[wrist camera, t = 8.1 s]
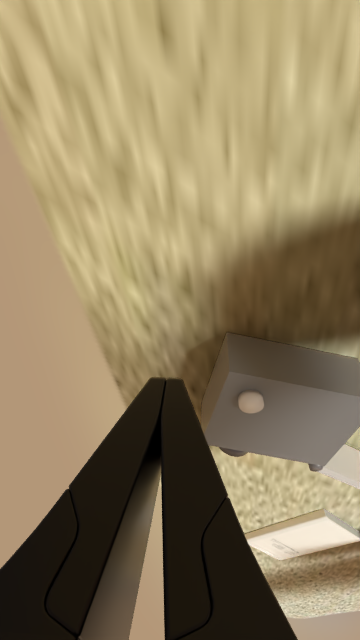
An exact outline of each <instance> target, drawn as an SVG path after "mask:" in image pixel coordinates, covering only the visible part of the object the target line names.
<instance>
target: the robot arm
mask: <svg viewBox="0 0 360 640" xmlns="http://www.w3.org/2000/svg"><path fill="white" fill-rule="evenodd" d="M160 475H161V484H162V529H163V577H164V624H165V640H298V639H297V637H296V636H295V634H294V632H293V630H292V628H291V626H290V624H289V622H288V620H287V618H286V616H285V614H284V612H283V611H282V609H281V607H280V605H279V603H278V601H277V599H276V597H275V595H274V593H273V592H272V590H271V588H270V586H269V584H268V582H267V580H266V578H265V576H264V574H263V572H262V570H261V568H260V566H259V564H258V562H257V560H256V558H255V556H254V554H253V552H252V550H251V548H250V546H249V544H248V542H247V539H246V537H245V535H244V532H243V530H242V528H241V525H240V523H239V521H238V518H237V516H236V514H235V511H234V508H233V506H232V503H231V501H230V499H229V498H228V494H227V491H226V489H225V486H224V484H223V481H222V479H221V476H220V473H219V471H218V468H217V466H216V463H215V461H214V458H213V456H212V453H211V451H210V448H209V446H208V443H207V440H206V438H205V435H204V433H203V430H202V428H201V425H200V423H199V420H198V418H197V415H196V412H195V410H194V407H193V405H192V402H191V400H190V397H189V395H188V392H187V390H186V387H185V385H184V382H183V380H182V379H181V378H167V380H166V378H164V377H152V378H150V379H149V380H148V382H147V383H146V384H145V386H144V387H143V388H142V390H141V391H140V392H139V394H138V395H137V396H136V398H135V399H134V400H133V402H132V403H131V404H130V406H129V407H128V408H127V410H126V411H125V412H124V414H123V415H122V416H121V418H120V419H119V420H118V422H117V423H116V424H115V426H114V427H113V428H112V430H111V431H110V432H109V434H108V435H107V436H106V437H105V439H104V440H103V441H102V443H101V444H100V445H99V447H98V448H97V449H96V451H95V452H94V453H93V455H92V456H91V457H90V459H89V460H88V462H87V463H86V464H85V465H84V467H83V468H82V469H81V471H80V472H79V473H78V475H77V476H76V477H75V479H74V480H73V481H72V483H71V484H70V485H69V489H67V490H65V492H64V493H63V494H62V496H61V497H60V499H59V500H58V501H57V502H56V504H55V505H54V506H53V508H52V509H51V510H50V511H49V513H48V514H47V515H46V516H45V518H44V519H43V520H42V521H41V523H40V524H39V525H38V526H37V528H36V529H35V530H34V531H33V533H32V534H31V535H30V536H29V537H28V538H27V539H26V541H25V542H24V543H23V544H22V545H21V546H20V548H19V549H18V550H17V551H16V552H15V553H14V555H12V557H11V558H10V559H9V560H8V561H7V562H6V563H5V565H4V566H3V567H2V568H1V569H0V640H129V635H130V629H131V624H132V619H133V613H134V609H135V604H136V599H137V594H138V588H139V583H140V577H141V573H142V567H143V563H144V557H145V552H146V547H147V541H148V537H149V532H150V527H151V522H152V516H153V511H154V506H155V501H156V496H157V490H158V486H159V480H160Z"/></svg>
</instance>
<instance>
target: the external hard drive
mask: <svg viewBox="0 0 360 640" xmlns="http://www.w3.org/2000/svg"><path fill="white" fill-rule="evenodd" d="M244 535H245V537H246V539H247V542H248V544H249V545H250V546H252V547H254V548H256V549H258V550H260V551H262V552H264V553H266V554H268V555H270V556H272V557H274V558H276V559H278V560H284V559H288V558H292V557H296V556H300V555H305V554H309V553H313V552H317V551H321V550H326V549H330V548H334V547H338V546H342V545H346V544H350V543H354V542H359V541H360V531H358V530H356V529H355V528H353V527H352V526H350V525H349V524H347V523H346V522H344V521H343V520H341V519H339V518H338V517H336V516H335V515H333V514H332V513H330V512H329V511H327V510H326V509H324V508H323V509H320V510H317V511H314V512H311V513H308V514H305V515H302V516H298V517H295V518H292V519H289V520H286V521H283V522H280V523H277V524H274V525H270V526H267V527H264V528H261V529H258V530H255V531H252V532H249V533H246V534H244Z"/></svg>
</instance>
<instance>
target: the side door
mask: <svg viewBox="0 0 360 640" xmlns="http://www.w3.org/2000/svg"><path fill="white" fill-rule="evenodd" d="M308 464H309V463H308ZM309 468H310V470H311V471H315V472H316V471H317V472H319V473H322V474H324V475H326V476H329V477H331V478H334V479H336V480H339V481H341V482H343V483H346V484H348V485H351V486H353V487H355V488H358V489H360V451H359V450H357V449H355V448H352V447H350V446H348V445H346V444H344V445H343V446H342V447H341V448H340V449H339V451H338V452H337V453H336V454H335V455H334V456H333V457H332V458H331V460H330V461H329V462H328V463H327V464H326V465H325V466H320V465H315V464H309Z"/></svg>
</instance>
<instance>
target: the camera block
mask: <svg viewBox="0 0 360 640" xmlns="http://www.w3.org/2000/svg"><path fill="white" fill-rule="evenodd" d="M359 427H360V362H359V360H358V359H357V358H352V357H347V356H342V355H337V354H332V353H327V352H322V351H317V350H312V349H308V348H303V347H298V346H293V345H288V344H283V343H278V342H273V341H268V340H263V339H258V338H253V337H248V336H243V335H238V334H233V333H228V332H227V333H226V336H225V338H224V341H223V344H222V347H221V350H220V352H219V355H218V358H217V361H216V364H215V366H214V369H213V372H212V375H211V378H210V380H209V383H208V386H207V389H206V392H205V394H204V397H203V400H202V407H201V428H202V430H203V433H204V435H205V438H206V440H207V443H208V445H211V446H217V447H219V448H220V449H221V450H222V451H223V452H224V453H226V454H228V455H230V456H235V457H239V456H243V455H245V454H247V453H248V452H249V453H255V454H260V455H266V456H271V457H277V458H282V459H288V460H293V461H299V462H304V463H309V464H315V465H320V466H325V465H326V464H327V463H328V462H329V461H330V460H331V458H332V457H333V456H334V455H335V454H336V453H337V452H338V451H339V449H340V448H341V447H342V446H343V445H344V444H345V443H346V441H347V440H348V439H349V438H350V437H351V436H352V435H353V434H354V432H355V431H356V430H357V429H358V428H359Z"/></svg>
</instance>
